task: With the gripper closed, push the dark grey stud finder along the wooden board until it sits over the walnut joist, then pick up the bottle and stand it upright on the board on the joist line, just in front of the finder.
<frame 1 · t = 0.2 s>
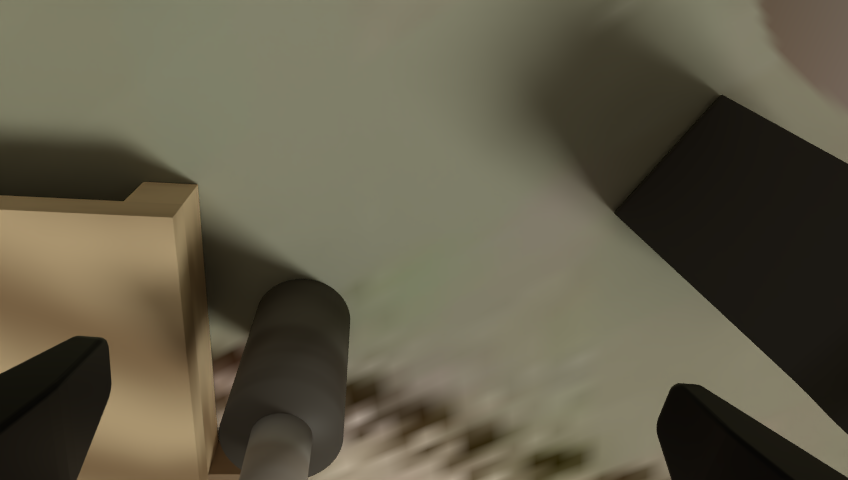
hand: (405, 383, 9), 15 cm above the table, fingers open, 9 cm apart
bottle: (303, 319, 26), on the table
wooden board: (31, 406, 27), on the table
phone stand: (731, 210, 25), on the table
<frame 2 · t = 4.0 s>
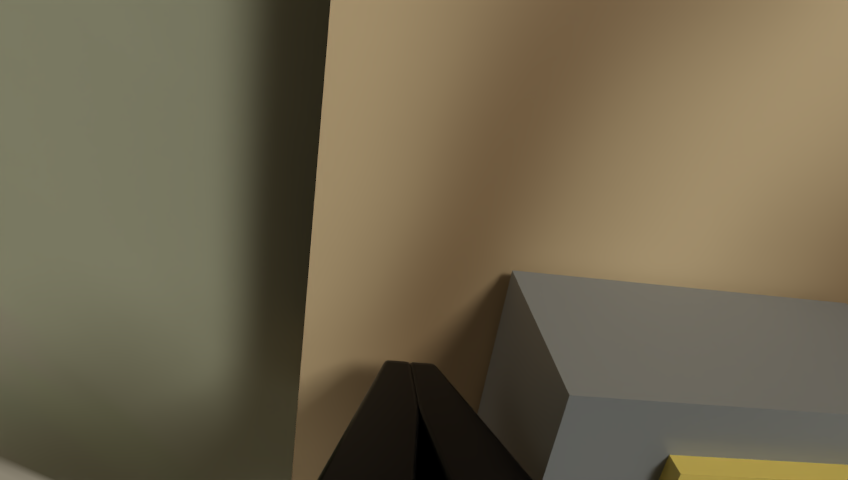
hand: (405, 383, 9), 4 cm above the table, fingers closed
stud finder: (694, 452, 9), point 5 cm above the table, slide at 8.8 cm, touching gripper
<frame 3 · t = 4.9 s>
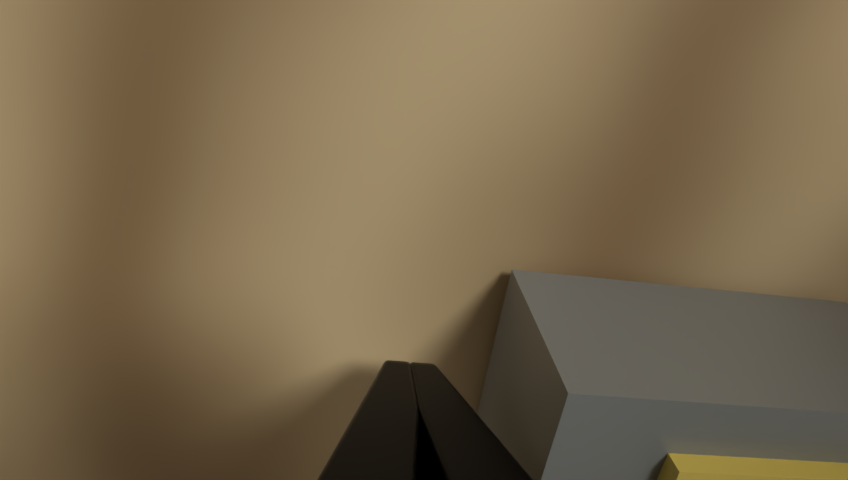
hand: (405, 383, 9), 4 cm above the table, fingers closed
wooden board: (628, 91, 12), on the table
stud finder: (693, 450, 9), point 5 cm above the table, slide at 3.6 cm, touching gripper
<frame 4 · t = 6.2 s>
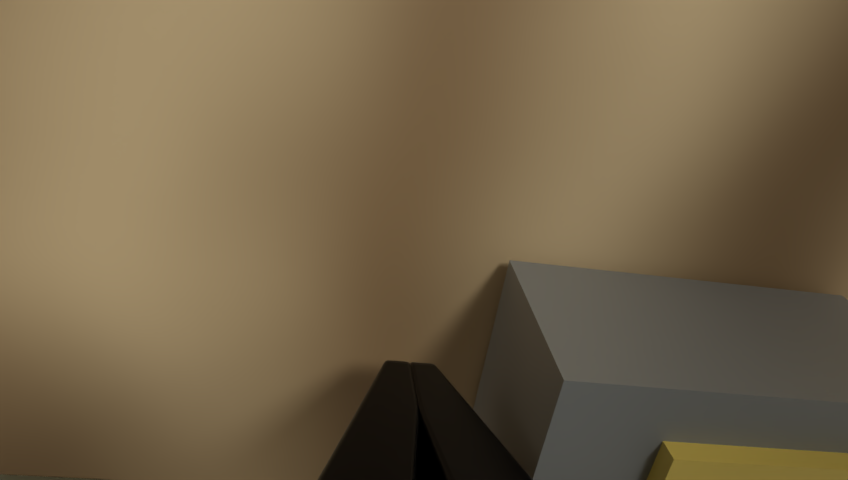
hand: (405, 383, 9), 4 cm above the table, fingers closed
wooden board: (455, 59, 11), on the table
stud finder: (689, 441, 9), point 5 cm above the table, slide at 0.1 cm, touching gripper
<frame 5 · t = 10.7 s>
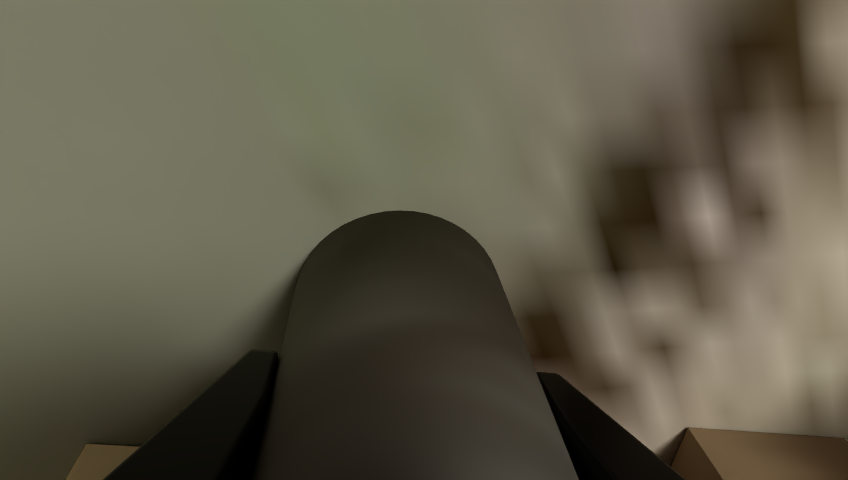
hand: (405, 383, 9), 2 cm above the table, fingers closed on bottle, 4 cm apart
bottle: (398, 305, 12), on the table, touching gripper
when the fingers open (7 cm above the table, at t = 14.9 s): bottle drops 1 cm, resting on wooden board.
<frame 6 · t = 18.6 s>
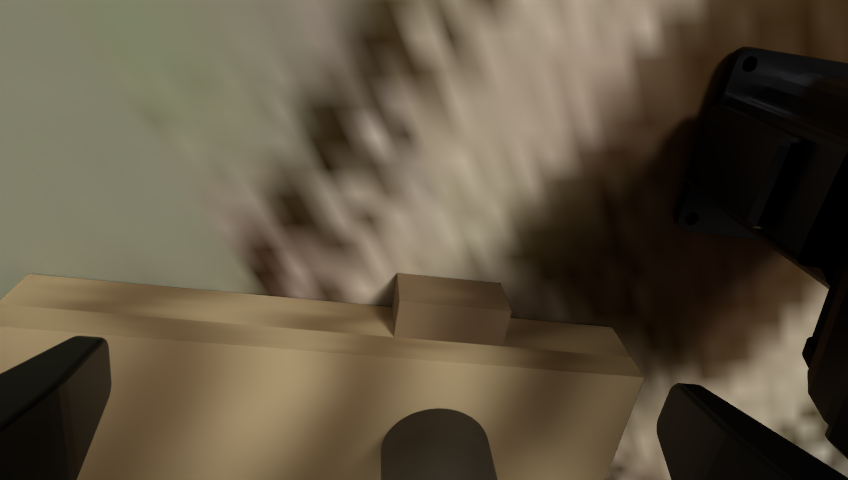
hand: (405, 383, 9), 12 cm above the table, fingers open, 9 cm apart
bottle: (435, 451, 22), point 3 cm above the table, touching wooden board
wooden board: (322, 458, 26), on the table
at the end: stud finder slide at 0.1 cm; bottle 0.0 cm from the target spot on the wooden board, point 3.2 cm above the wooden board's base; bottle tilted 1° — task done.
